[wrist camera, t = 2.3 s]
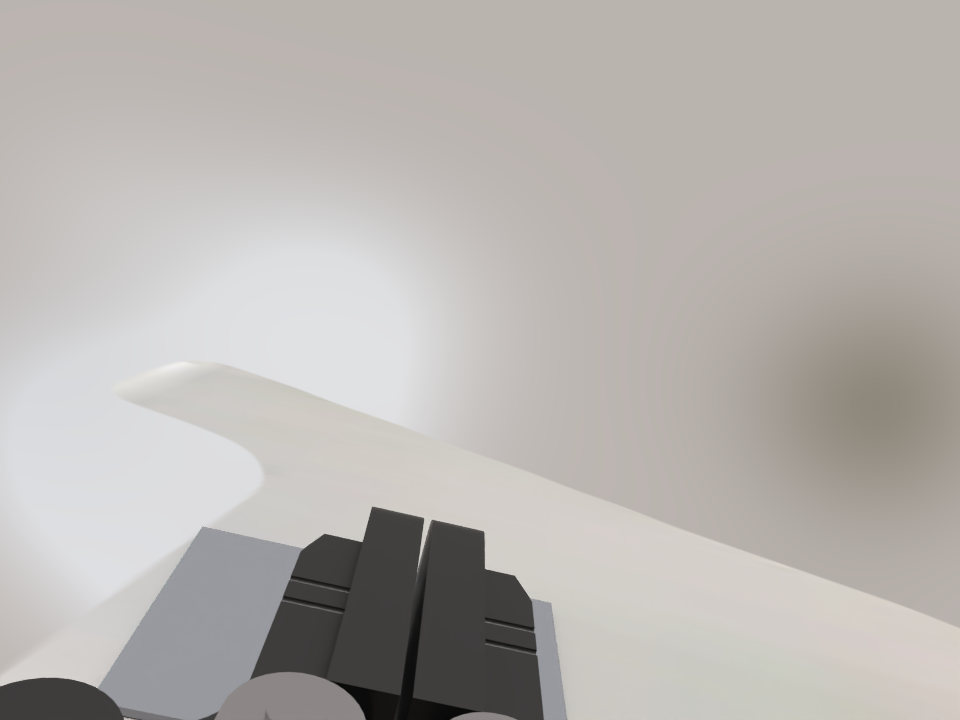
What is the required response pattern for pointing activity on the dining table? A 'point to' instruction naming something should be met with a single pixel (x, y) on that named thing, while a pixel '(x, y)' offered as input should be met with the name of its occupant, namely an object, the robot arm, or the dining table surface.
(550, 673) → the mat
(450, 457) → the dining table surface
